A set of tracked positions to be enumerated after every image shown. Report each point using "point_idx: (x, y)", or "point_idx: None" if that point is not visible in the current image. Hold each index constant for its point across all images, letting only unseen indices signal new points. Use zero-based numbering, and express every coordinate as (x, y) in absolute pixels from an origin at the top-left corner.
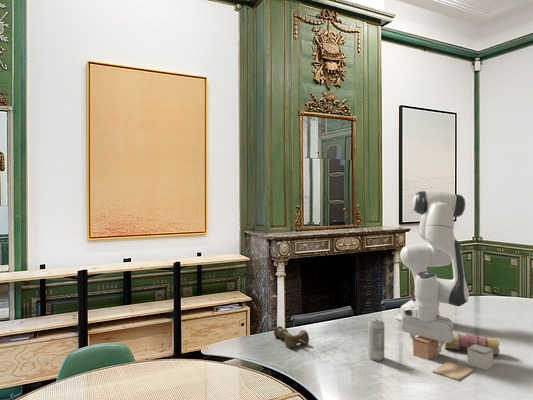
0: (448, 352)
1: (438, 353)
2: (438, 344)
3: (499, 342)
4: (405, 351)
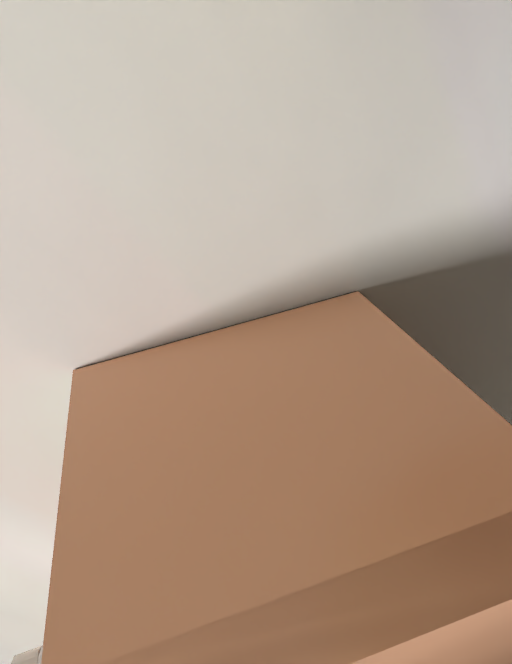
0: (443, 35)
1: (362, 305)
2: (471, 404)
3: None
4: (16, 650)
